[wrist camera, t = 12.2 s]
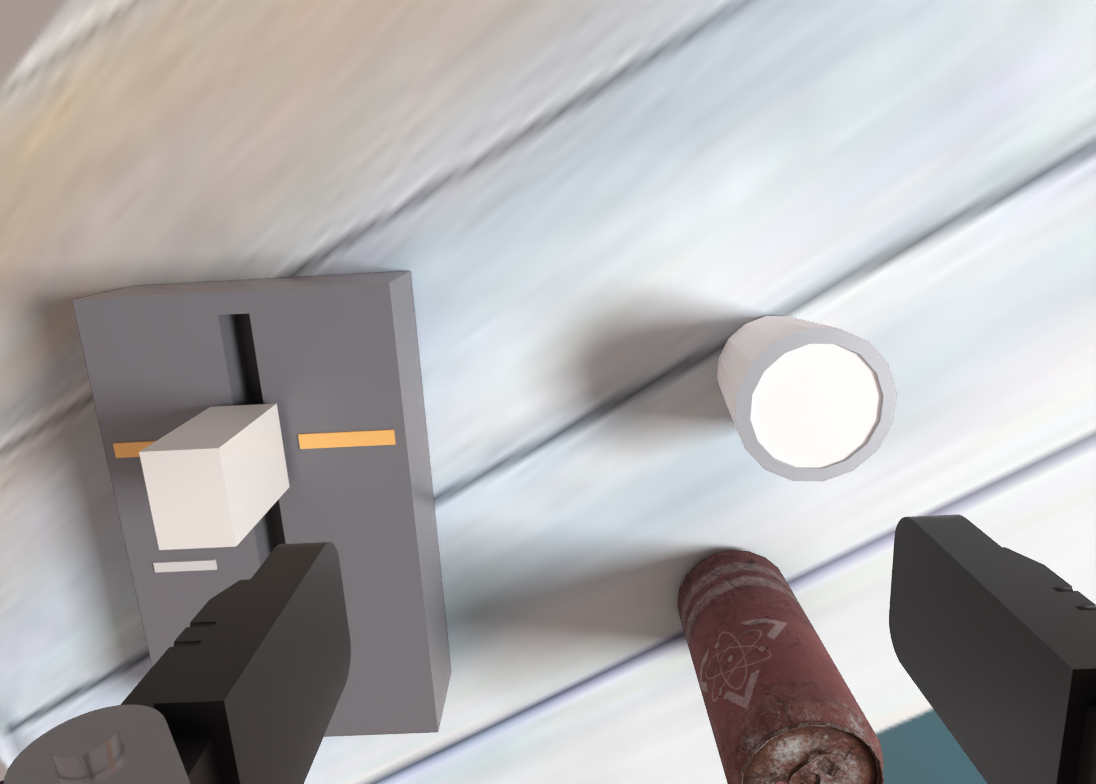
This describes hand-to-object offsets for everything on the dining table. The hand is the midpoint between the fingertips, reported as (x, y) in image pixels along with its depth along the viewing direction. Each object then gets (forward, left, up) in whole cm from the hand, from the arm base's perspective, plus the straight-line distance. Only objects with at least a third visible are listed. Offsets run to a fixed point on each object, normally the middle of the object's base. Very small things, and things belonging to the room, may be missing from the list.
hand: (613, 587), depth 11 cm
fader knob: (+5, -15, -25) cm, 29 cm away
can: (+17, +8, -28) cm, 34 cm away
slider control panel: (+10, -15, -28) cm, 33 cm away
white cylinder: (+4, +10, -28) cm, 30 cm away
